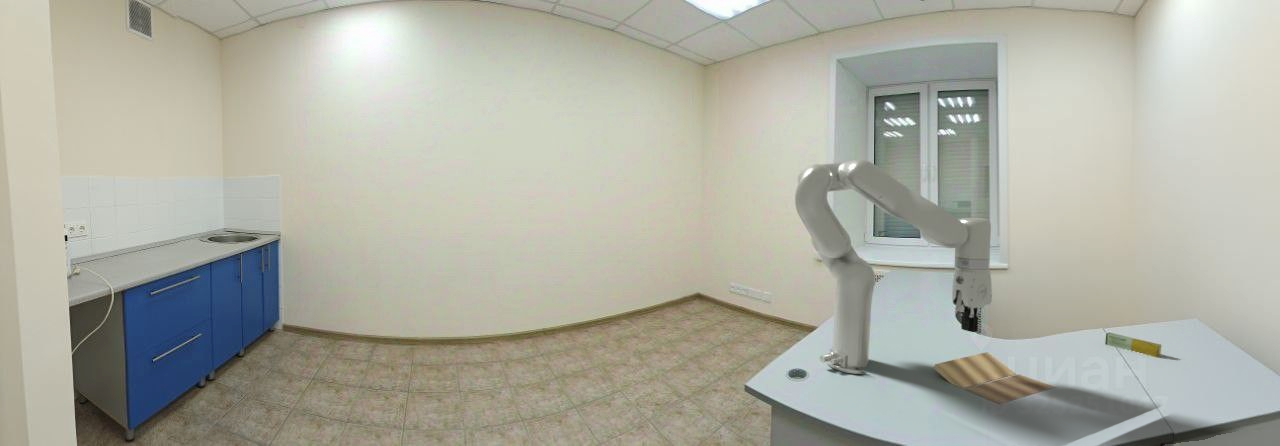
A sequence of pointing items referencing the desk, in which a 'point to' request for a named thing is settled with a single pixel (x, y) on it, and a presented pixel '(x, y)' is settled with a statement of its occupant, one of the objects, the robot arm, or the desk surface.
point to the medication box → (1133, 344)
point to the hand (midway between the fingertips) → (969, 330)
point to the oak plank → (973, 370)
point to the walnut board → (1009, 388)
